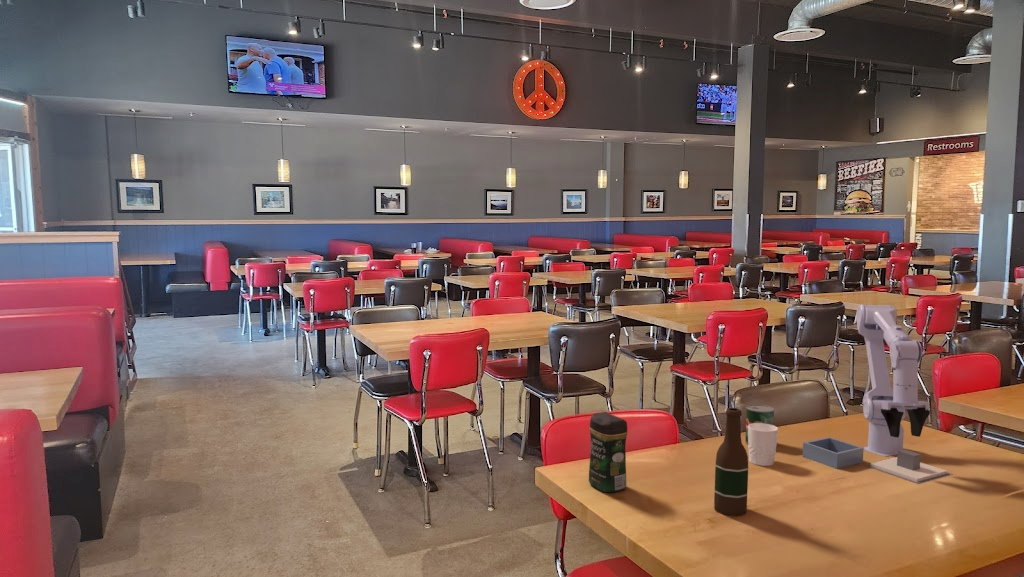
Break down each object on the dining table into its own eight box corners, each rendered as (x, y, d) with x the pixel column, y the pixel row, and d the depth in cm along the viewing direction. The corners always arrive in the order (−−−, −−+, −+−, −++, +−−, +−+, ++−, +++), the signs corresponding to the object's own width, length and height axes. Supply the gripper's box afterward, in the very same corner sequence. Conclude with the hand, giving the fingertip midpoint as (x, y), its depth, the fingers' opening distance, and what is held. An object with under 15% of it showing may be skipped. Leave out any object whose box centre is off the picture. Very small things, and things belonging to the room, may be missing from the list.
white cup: (772, 457, 200) (773, 423, 199) (779, 467, 192) (781, 431, 191) (743, 456, 201) (745, 422, 200) (750, 466, 193) (751, 430, 192)
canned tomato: (775, 442, 214) (777, 407, 213) (768, 449, 207) (770, 413, 206) (749, 437, 218) (750, 403, 217) (741, 444, 212) (743, 408, 211)
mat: (898, 458, 200) (898, 457, 200) (952, 475, 187) (952, 474, 187) (864, 467, 193) (864, 465, 193) (918, 485, 180) (918, 484, 180)
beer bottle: (707, 503, 168) (711, 405, 165) (739, 502, 168) (743, 404, 166) (720, 517, 160) (723, 414, 157) (753, 516, 160) (757, 413, 158)
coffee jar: (583, 482, 180) (584, 412, 179) (608, 477, 184) (610, 408, 182) (605, 496, 172) (606, 421, 170) (631, 490, 176) (633, 417, 174)
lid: (900, 458, 198) (901, 442, 198) (946, 473, 187) (948, 456, 187) (870, 466, 192) (871, 449, 192) (916, 482, 181) (918, 463, 180)
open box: (828, 452, 205) (829, 436, 205) (862, 463, 196) (863, 447, 195) (802, 457, 200) (803, 442, 200) (836, 470, 190) (837, 454, 190)
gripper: (897, 386, 183) (897, 439, 182) (938, 386, 188) (938, 438, 187) (875, 384, 189) (875, 435, 189) (915, 384, 194) (915, 434, 194)
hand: (905, 436), depth 188 cm, fingers open, 7 cm apart
